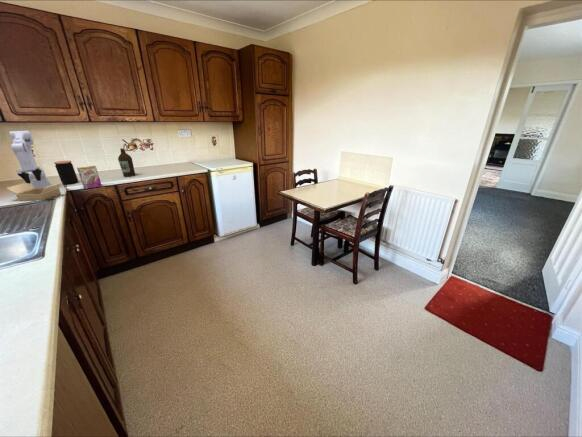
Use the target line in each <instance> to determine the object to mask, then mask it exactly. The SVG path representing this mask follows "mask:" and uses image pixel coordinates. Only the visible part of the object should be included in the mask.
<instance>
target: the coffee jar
mask: <svg viewBox="0 0 582 437" xmlns="http://www.w3.org/2000/svg"><path fill="white" fill-rule="evenodd" d="M53 164H54V166H55V169H56V171H57V174H58V177H59V180H60V183H61V182H63V183H62V184H61V185H65V186H67V185H75V184H77V183H79V179H78V176H77V173H76V170H75V168H74V165H73V163H72V160H58V161H54V162H53Z"/></svg>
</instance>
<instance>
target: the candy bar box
mask: <svg viewBox="0 0 582 437" xmlns="http://www.w3.org/2000/svg"><path fill="white" fill-rule="evenodd" d="M76 170H77V172H78V176H79V178H80V182H81V185H82V188H83V189H85V190H88V189H93V188H99V187H102V186H103V185H102V182H101V179H100V175H99V172H98V169H97V166H96V165H93V164H92V165H85V166H77V167H76Z"/></svg>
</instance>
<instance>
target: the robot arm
mask: <svg viewBox="0 0 582 437" xmlns="http://www.w3.org/2000/svg"><path fill="white" fill-rule="evenodd" d="M9 135H10V138H11V140H12V144H10V149H11V150H12V152H13V154H14V155H15V156H16V158H17V161H18V163H19V165H20V166H21V167H20V168H21V169H19V170H16V174H17V176H19V177H20V178H21V179H22V180H23V181H24V183H27V184H31V186H32V187H34V188H35V189H45V187H48V186H51V185H52V184H51V182H50V180H49V179H48V178H47V175H46V173H45V171H44V169H43V168H42V167H41V166H37V162H36V160H35V159H36V158H35V156H34V154H33V150H32V145H33V144H34V139H33V136H32V134H31V132H30V131H29V130H10V131H9Z"/></svg>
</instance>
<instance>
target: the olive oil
mask: <svg viewBox="0 0 582 437" xmlns="http://www.w3.org/2000/svg"><path fill="white" fill-rule="evenodd" d="M119 149H120V154H119V156H117V158H118V159H117V160H118V163H119V166H120V168H121V169H120V170H121V172H122V175H123V178H132V177H135V176H136V173H135V172H136V171H135V167H134V163H133V162H134V161H133V158H132V156H131V155H130V154H128V153H127V152H126V150H125V148H123V147H122V148H119Z"/></svg>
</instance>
